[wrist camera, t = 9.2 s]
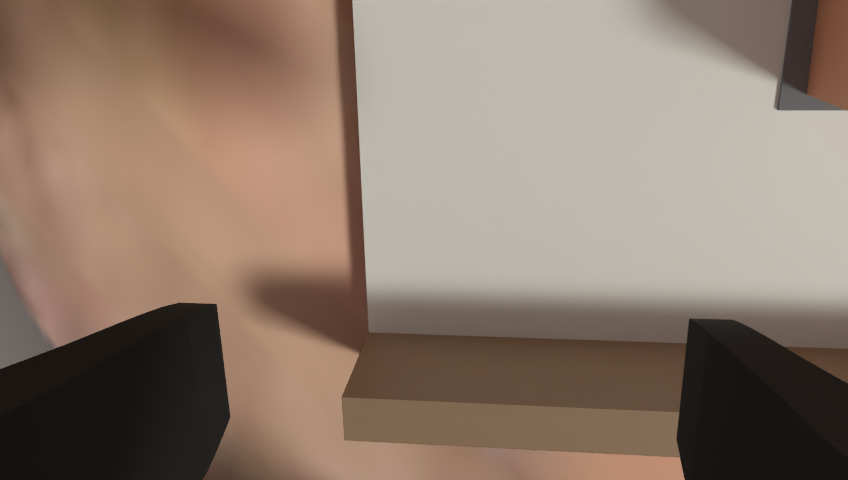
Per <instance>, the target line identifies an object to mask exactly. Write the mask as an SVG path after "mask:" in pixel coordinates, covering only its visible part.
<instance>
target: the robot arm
mask: <svg viewBox="0 0 848 480" xmlns="http://www.w3.org/2000/svg"><path fill="white" fill-rule="evenodd" d="M229 419H230V411H229V403H228V395H227V387H226V378H225V370H224V362H223V354H222V345H221V337H220V329H219V321H218V312H217V304H198V303H177V304H173V305H168V306H165V307H161V308H158V309H155V310H152V311H149V312H147V313H144V314H141V315H139V316H136V317H133V318H131V319H128V320H126V321H123V322H121V323H118V324H116V325H113V326H111V327H108V328H106V329H103V330H101V331H99V332H96V333H94V334H91V335H89V336H86V337H84V338H81V339H79V340H76V341H74V342H71V343H69V344H66V345H64V346H61V347H58V348H56V349H53V350H50V351H48V352H45V353H42V354H40V355H37V356H34V357H32V358H29V359H26V360H24V361H21V362H18V363H16V364H13V365H10V366H8V367H5V368H2V369H0V480H202V479H203V478H204V476H205V474H206V473H207V471H208V469H209V467H210V464H211V462H212V460H213V458H214V455H215V453H216V451H217V449H218V446H219V444H220V442H221V439H222V437H223V434H224V432H225V429H226V427H227V424H228V421H229ZM676 439H677V444H678V449H679V454H680V459H681V464H682V469H683V473H684V478H685V480H848V383H846V382H844V381H842V380H841V379H839V378H837V377H835V376H833V375H832V374H830V373H828V372H826V371H825V370H823V369H821V368H819V367H818V366H816V365H814V364H812V363H811V362H809V361H807V360H806V359H804V358H802V357H800V356H799V355H797V354H795V353H794V352H792V351H790V350H789V349H787V348H785V347H783V346H782V345H780V344H778V343H777V342H775V341H773V340H772V339H770V338H768V337H766V336H765V335H763V334H761V333H759V332H758V331H756V330H754V329H752V328H750V327H748V326H746V325H744V324H742V323H740V322H737V321H735V320H726V319H693V318H689V324H688V334H687V343H686V353H685V362H684V372H683V381H682V391H681V400H680V409H679V419H678V428H677V438H676Z"/></svg>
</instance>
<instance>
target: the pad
mask: <svg viewBox="0 0 848 480" xmlns="http://www.w3.org/2000/svg"><path fill="white" fill-rule="evenodd" d="M818 1H819V0H792V4H791V11H790V19H789V26H788V34H787V41H786V49H785V56H784V63H783V71H782V78H781V86H780V93H779V101H778V108H777V110H844V109H842V108H839V107H837V106H834V105H832V104H829V103H827V102H824V101H822V100H819V99H817V98H814V97H812V96H810V95H807V87H808V79H809V71H810V64H811V56H812V48H813V40H814V32H815V25H816V17H817V9H818Z"/></svg>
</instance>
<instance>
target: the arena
mask: <svg viewBox="0 0 848 480" xmlns="http://www.w3.org/2000/svg"><path fill="white" fill-rule="evenodd" d="M352 3H353V23H354V43H355V64H356V84H357V105H358V125H359V145H360V166H361V186H362V207H363V227H364V247H365V268H366V288H367V308H368V329H369V333H368V335H367V338H366V340H365V343H364V345H363V347H362V350H361V352H360V355H359V357H358V359H357V362H356V364H355V367H354V369H353V371H352V374H351V376H350V379H349V381H348V383H347V386H346V388H345V391H344V393H343V395H342V410H343V426H344V440H351V441H370V442H390V443H409V444H429V445H448V446H468V447H487V448H507V449H526V450H546V451H565V452H585V453H604V454H624V455H643V456H663V457H680V454H679V449H678V444H677V439H676V438H677V428H678V419H679V409H680V400H681V391H682V381H683V372H684V362H685V353H686V343H687V334H688V324H689V318H693V319H726V320H735V321H737V322H740V323H742V324H744V325H746V326H748V327H750V328H752V329H754V330H756V331H758V332H759V333H761V334H763V335H765V336H766V337H768V338H770V339H772V340H773V341H775V342H777V343H778V344H780V345H782V346H783V347H785V348H787V349H789V350H790V351H792V352H794V353H795V354H797V355H799V356H800V357H802V358H804V359H806V360H807V361H809V362H811V363H812V364H814V365H816V366H818V367H819V368H821V369H823V370H825V371H826V372H828V373H830V374H832V375H833V376H835V377H837V378H839V379H841V380H842V381H844V382H846V383H848V111H847V110H777V108H778V101H779V93H780V86H781V78H782V71H783V63H784V56H785V49H786V41H787V34H788V26H789V19H790V11H791V4H792V0H352Z"/></svg>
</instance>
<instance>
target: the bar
mask: <svg viewBox="0 0 848 480" xmlns="http://www.w3.org/2000/svg"><path fill="white" fill-rule="evenodd" d="M807 95H810V96H812V97H814V98H817V99H819V100H822V101H824V102H827V103H829V104H832V105H834V106H837V107H839V108H842V109H844V110H847V111H848V0H819V1H818V9H817V17H816V25H815V32H814V40H813V48H812V56H811V64H810V71H809V79H808V87H807Z"/></svg>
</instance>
